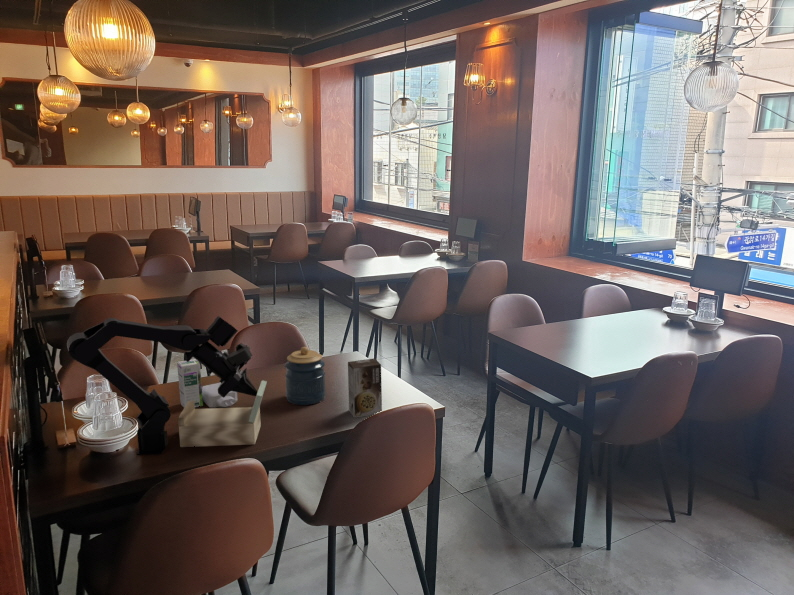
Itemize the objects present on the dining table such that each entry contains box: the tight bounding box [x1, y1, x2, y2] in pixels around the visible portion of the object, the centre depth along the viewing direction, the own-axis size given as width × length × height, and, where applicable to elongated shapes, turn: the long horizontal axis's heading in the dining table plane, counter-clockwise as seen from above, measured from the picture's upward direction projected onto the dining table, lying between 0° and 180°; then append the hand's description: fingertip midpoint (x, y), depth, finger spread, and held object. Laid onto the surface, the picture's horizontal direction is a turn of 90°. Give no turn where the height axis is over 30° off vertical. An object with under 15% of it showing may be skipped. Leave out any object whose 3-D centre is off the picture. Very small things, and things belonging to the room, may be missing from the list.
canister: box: [284, 346, 327, 406], centre depth 200 cm, size 13×13×18 cm
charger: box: [202, 382, 238, 409], centre depth 196 cm, size 5×9×15 cm
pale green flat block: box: [249, 380, 268, 423], centre depth 172 cm, size 2×12×8 cm, turn 5°
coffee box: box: [347, 358, 383, 418], centre depth 189 cm, size 9×6×16 cm
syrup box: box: [176, 358, 204, 409], centre depth 194 cm, size 6×6×14 cm
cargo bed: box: [177, 401, 262, 448], centre depth 172 cm, size 20×12×8 cm, turn 95°
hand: (257, 394), depth 172 cm, fingers closed, pressing on pale green flat block
